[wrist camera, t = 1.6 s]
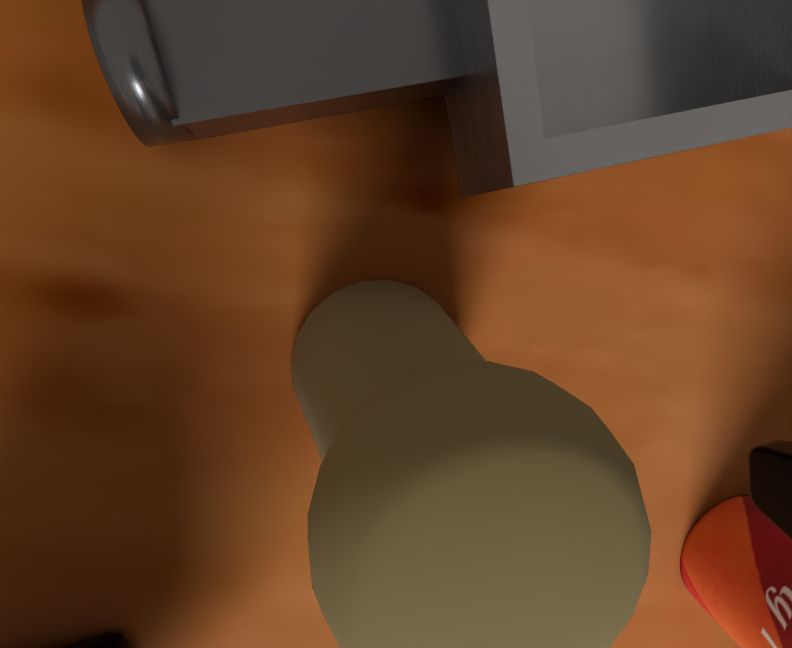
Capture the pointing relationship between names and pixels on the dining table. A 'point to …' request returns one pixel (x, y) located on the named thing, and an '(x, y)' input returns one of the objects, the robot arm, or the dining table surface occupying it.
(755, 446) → the robot arm
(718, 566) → the paper cup
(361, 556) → the cork
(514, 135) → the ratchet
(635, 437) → the dining table surface
